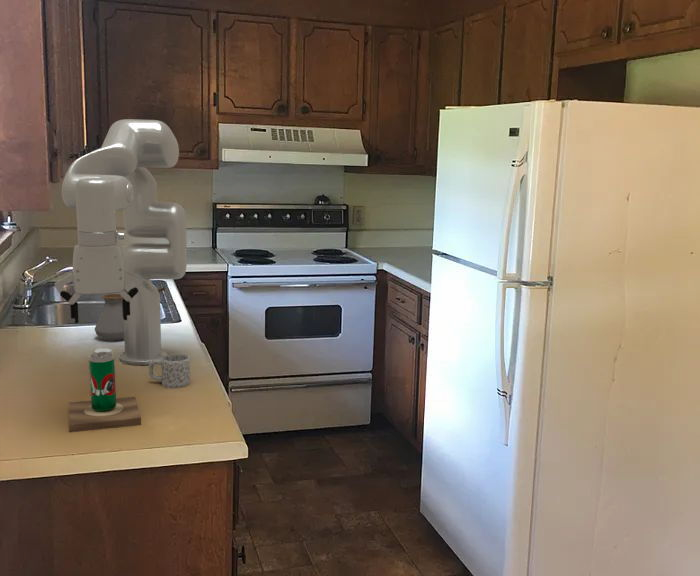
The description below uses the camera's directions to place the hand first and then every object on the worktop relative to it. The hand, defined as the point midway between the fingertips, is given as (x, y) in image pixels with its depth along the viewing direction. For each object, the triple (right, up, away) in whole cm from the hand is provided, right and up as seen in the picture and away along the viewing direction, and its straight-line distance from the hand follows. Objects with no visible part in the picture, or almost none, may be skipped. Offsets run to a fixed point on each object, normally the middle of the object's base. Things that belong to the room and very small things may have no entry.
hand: (101, 320), depth 155 cm
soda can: (0, -19, +3) cm, 20 cm away
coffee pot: (-14, -8, +69) cm, 71 cm away
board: (0, -21, +3) cm, 21 cm away
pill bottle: (-8, -17, +25) cm, 31 cm away
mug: (+8, -17, +27) cm, 32 cm away
